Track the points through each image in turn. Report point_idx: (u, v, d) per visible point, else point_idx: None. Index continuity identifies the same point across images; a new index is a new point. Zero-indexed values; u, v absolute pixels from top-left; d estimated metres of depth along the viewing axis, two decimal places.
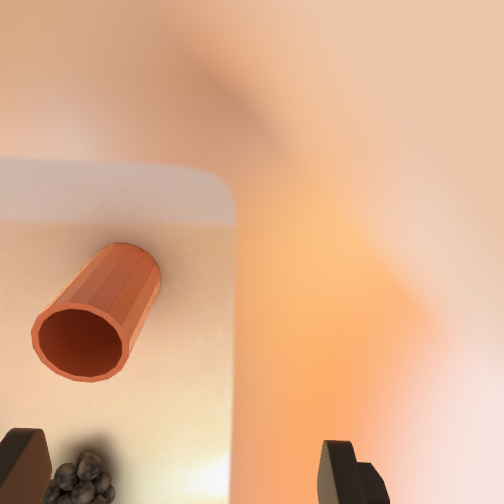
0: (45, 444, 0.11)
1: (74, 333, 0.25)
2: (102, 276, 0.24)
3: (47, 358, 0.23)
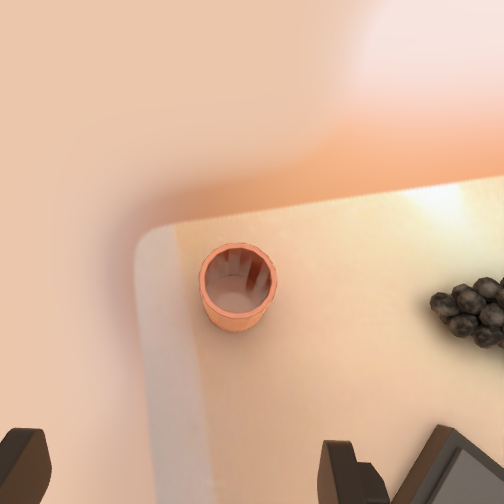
0: (45, 444, 0.11)
1: None
2: None
3: (259, 306, 0.27)
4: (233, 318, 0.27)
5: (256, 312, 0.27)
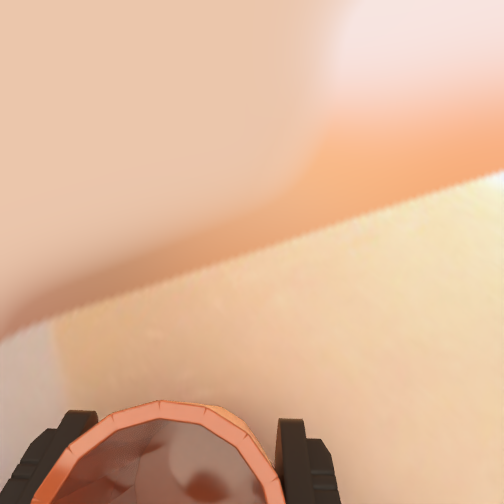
0: None
1: None
2: None
3: None
4: None
5: None
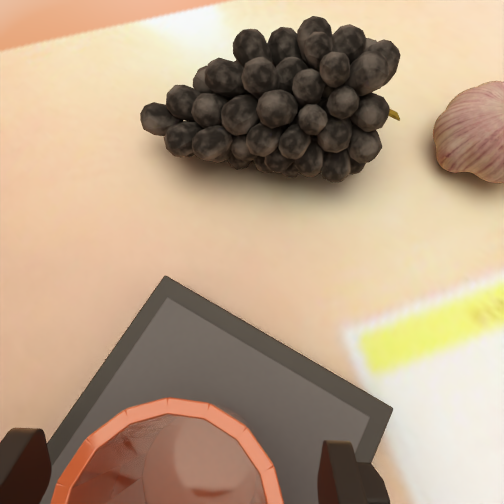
0: (45, 444, 0.11)
1: None
2: None
3: None
4: None
5: None
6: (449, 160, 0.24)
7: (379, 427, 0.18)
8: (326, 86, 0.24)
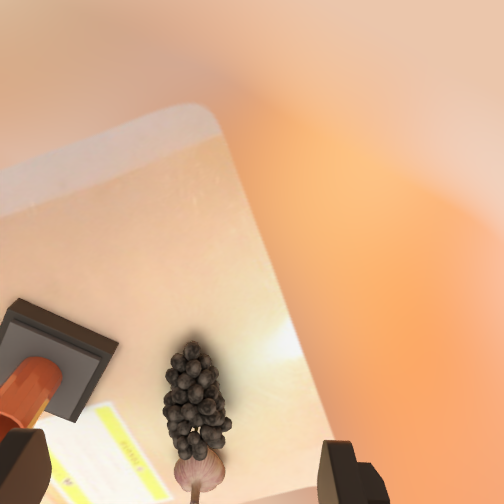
0: (45, 444, 0.11)
1: (8, 421, 0.44)
2: (5, 388, 0.42)
3: None
4: None
5: None
6: None
7: (67, 418, 0.52)
8: None
